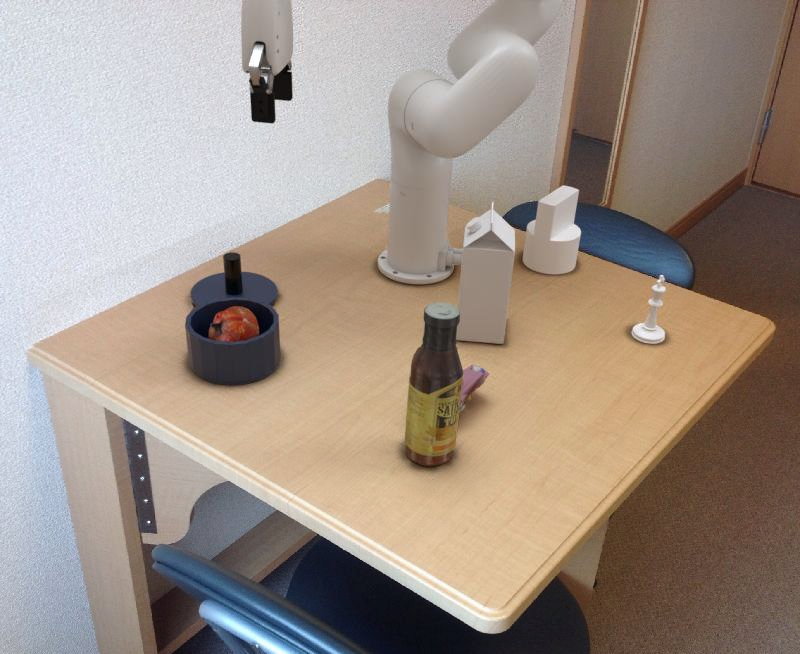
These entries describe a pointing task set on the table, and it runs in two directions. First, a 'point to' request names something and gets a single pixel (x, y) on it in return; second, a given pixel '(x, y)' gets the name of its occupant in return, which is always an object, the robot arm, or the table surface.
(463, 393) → the video game controller
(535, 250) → the cylinder with rectangular tab
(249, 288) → the lid
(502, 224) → the milk carton
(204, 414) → the table surface
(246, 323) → the pomegranate
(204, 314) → the bowl
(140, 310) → the table surface
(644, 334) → the chess piece
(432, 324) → the sauce bottle
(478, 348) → the table surface
